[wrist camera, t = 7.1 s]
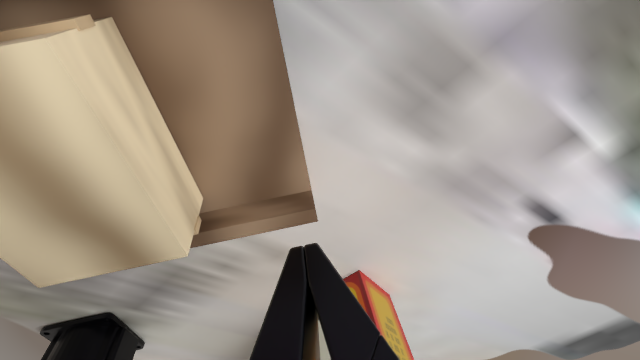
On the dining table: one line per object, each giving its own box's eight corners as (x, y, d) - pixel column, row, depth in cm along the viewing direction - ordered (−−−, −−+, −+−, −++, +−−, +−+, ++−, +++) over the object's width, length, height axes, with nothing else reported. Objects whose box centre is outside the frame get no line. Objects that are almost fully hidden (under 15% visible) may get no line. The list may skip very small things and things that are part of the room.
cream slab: (85, 225, 20) (40, 291, 16) (-79, 42, 13) (-234, 76, 9) (206, 201, 20) (191, 259, 16) (110, 8, 13) (42, 27, 9)
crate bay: (89, 240, 22) (60, 286, 19) (-143, -13, 12) (-285, -5, 9) (312, 194, 23) (320, 231, 19) (256, -80, 13) (253, -96, 10)
